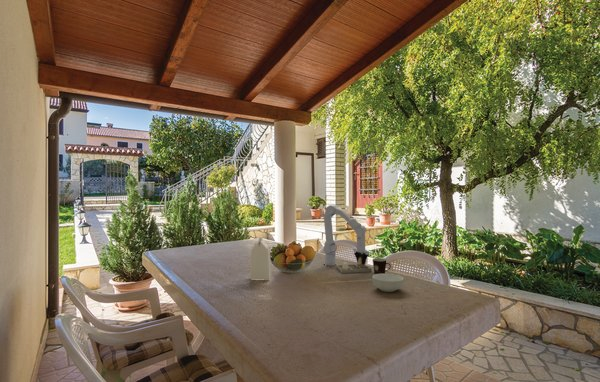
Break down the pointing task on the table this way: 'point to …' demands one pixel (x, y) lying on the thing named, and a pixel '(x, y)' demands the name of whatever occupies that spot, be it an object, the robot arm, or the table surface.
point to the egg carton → (354, 268)
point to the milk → (260, 261)
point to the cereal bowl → (387, 282)
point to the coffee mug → (380, 265)
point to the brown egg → (360, 262)
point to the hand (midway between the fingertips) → (361, 263)
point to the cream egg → (345, 266)
